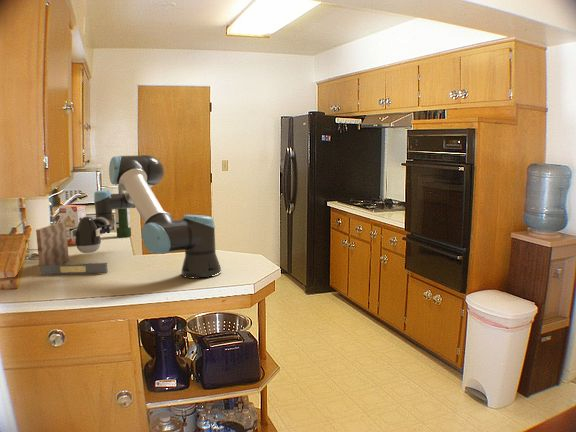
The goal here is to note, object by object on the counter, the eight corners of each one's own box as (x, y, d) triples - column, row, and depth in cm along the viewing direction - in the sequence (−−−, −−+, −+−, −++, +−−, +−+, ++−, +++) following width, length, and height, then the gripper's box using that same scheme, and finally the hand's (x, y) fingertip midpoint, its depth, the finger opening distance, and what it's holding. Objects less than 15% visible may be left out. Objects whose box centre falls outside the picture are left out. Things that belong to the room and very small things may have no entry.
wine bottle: (116, 236, 293) (112, 184, 289) (130, 235, 296) (126, 183, 292) (117, 238, 286) (114, 185, 282) (132, 237, 289) (128, 184, 285)
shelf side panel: (43, 273, 205) (39, 229, 202) (40, 273, 205) (36, 230, 202) (68, 260, 229) (65, 221, 226) (65, 260, 229) (62, 221, 226)
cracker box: (61, 244, 272) (58, 205, 269) (71, 242, 277) (67, 204, 274) (79, 246, 265) (76, 206, 263) (88, 243, 271) (85, 205, 268)
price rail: (105, 273, 202) (105, 263, 201) (40, 275, 202) (39, 265, 201) (107, 272, 204) (106, 262, 203) (43, 274, 204) (42, 264, 203)
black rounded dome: (93, 248, 223) (90, 214, 221) (106, 251, 217) (103, 215, 215) (71, 252, 215) (68, 217, 214) (83, 255, 209) (80, 218, 207)
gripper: (124, 233, 234) (112, 241, 212) (74, 235, 232) (57, 243, 210) (123, 217, 233) (110, 223, 211) (73, 219, 231) (55, 226, 209)
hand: (84, 233), depth 211 cm, fingers closed on black rounded dome, 9 cm apart
